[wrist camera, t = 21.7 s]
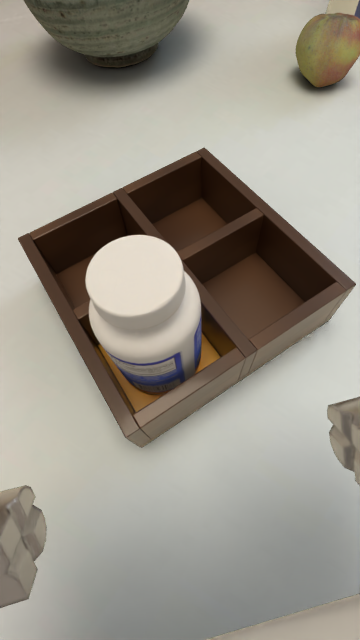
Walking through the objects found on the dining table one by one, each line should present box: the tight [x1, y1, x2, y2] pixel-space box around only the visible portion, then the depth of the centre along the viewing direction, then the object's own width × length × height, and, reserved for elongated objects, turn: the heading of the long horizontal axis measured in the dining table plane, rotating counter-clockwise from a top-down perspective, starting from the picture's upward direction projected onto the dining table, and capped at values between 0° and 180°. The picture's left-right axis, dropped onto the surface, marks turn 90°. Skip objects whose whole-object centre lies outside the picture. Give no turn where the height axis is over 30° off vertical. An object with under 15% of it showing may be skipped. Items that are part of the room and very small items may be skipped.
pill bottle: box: [85, 235, 201, 395], centre depth 17 cm, size 5×5×10 cm
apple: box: [296, 13, 360, 87], centre depth 34 cm, size 6×8×6 cm
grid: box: [18, 148, 356, 448], centre depth 23 cm, size 15×15×5 cm
